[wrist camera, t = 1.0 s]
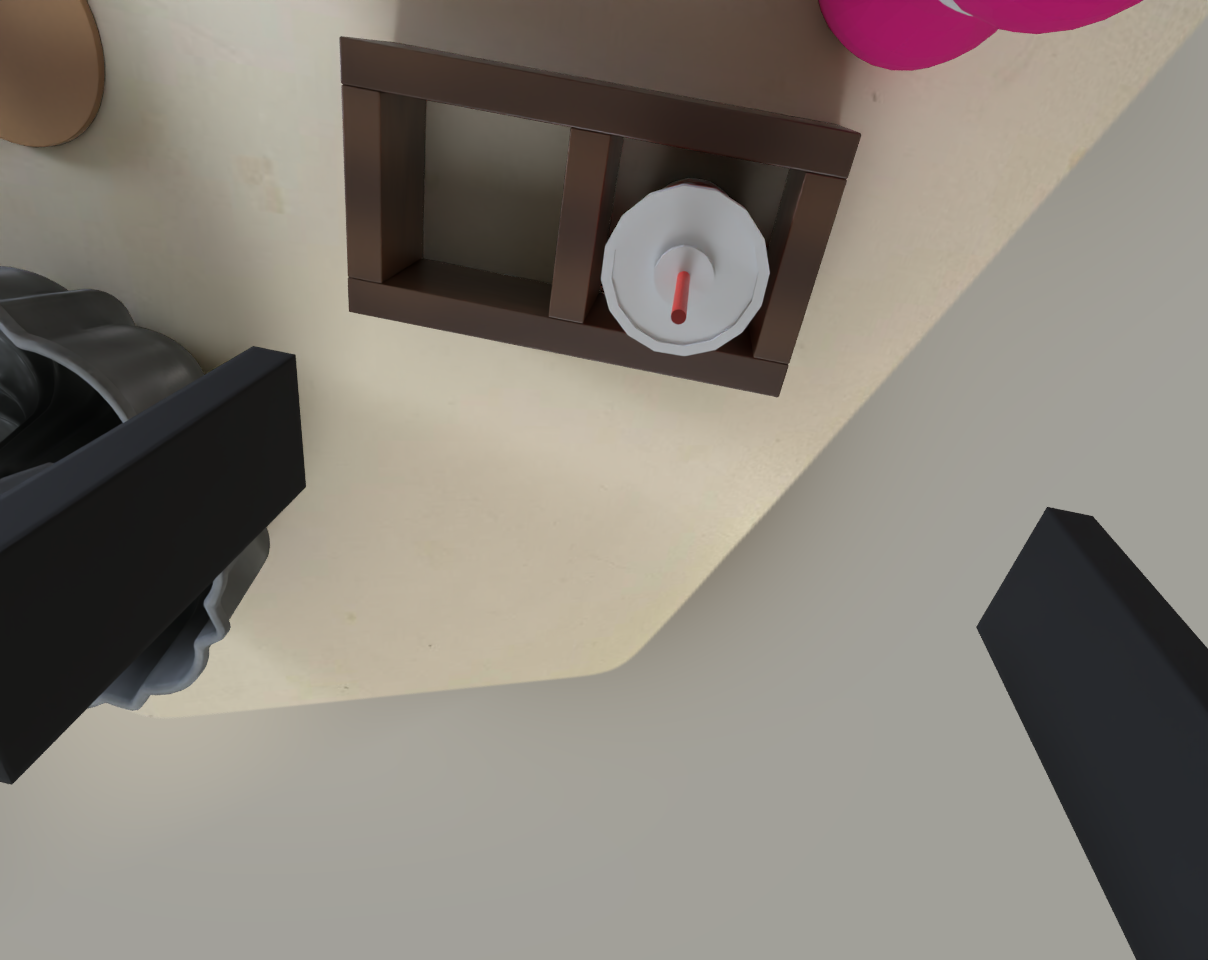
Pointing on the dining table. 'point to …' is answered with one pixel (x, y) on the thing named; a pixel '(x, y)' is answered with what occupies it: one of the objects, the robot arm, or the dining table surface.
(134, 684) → the bundt pan
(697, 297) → the beverage cup
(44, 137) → the coaster
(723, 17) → the dining table surface
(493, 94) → the holder
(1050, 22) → the pepper mill
